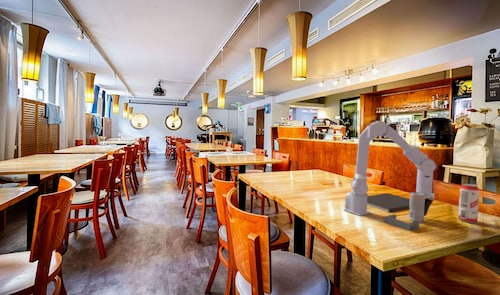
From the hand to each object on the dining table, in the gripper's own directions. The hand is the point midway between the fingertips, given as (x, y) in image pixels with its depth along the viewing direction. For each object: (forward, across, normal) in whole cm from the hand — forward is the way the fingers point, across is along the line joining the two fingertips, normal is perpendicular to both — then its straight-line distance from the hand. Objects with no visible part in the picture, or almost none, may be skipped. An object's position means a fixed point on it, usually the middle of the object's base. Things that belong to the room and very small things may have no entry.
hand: (422, 215), depth 109 cm
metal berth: (+2, -17, 0) cm, 17 cm away
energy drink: (+2, -5, 0) cm, 6 cm away
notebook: (+2, +10, +22) cm, 24 cm away
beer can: (+2, +14, -11) cm, 18 cm away
